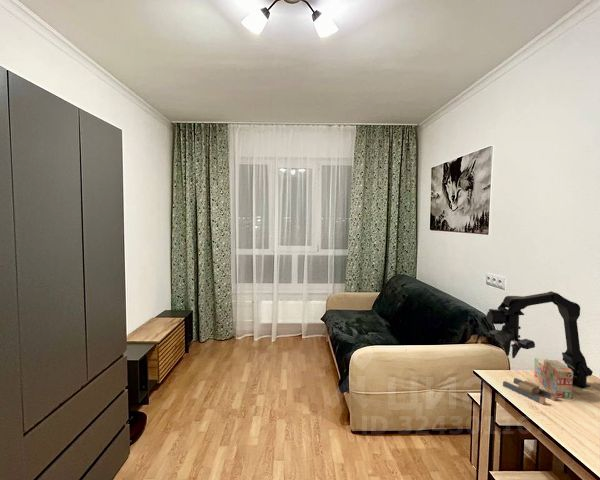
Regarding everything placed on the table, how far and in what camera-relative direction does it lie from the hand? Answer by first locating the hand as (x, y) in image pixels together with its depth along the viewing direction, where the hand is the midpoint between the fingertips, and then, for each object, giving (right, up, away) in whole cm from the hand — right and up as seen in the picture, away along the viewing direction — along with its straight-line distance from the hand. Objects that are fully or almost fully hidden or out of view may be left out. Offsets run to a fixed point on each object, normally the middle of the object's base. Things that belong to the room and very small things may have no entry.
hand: (510, 356), depth 165 cm
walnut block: (+4, -14, -7) cm, 16 cm away
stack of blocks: (+18, -13, -2) cm, 22 cm away
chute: (+4, -14, -7) cm, 16 cm away
